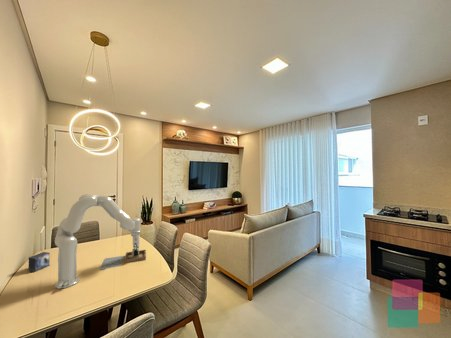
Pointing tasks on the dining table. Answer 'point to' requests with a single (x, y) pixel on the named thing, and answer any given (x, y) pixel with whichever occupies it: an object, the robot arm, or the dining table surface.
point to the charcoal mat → (112, 262)
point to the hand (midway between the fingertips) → (136, 253)
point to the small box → (38, 261)
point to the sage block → (136, 255)
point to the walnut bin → (129, 258)
